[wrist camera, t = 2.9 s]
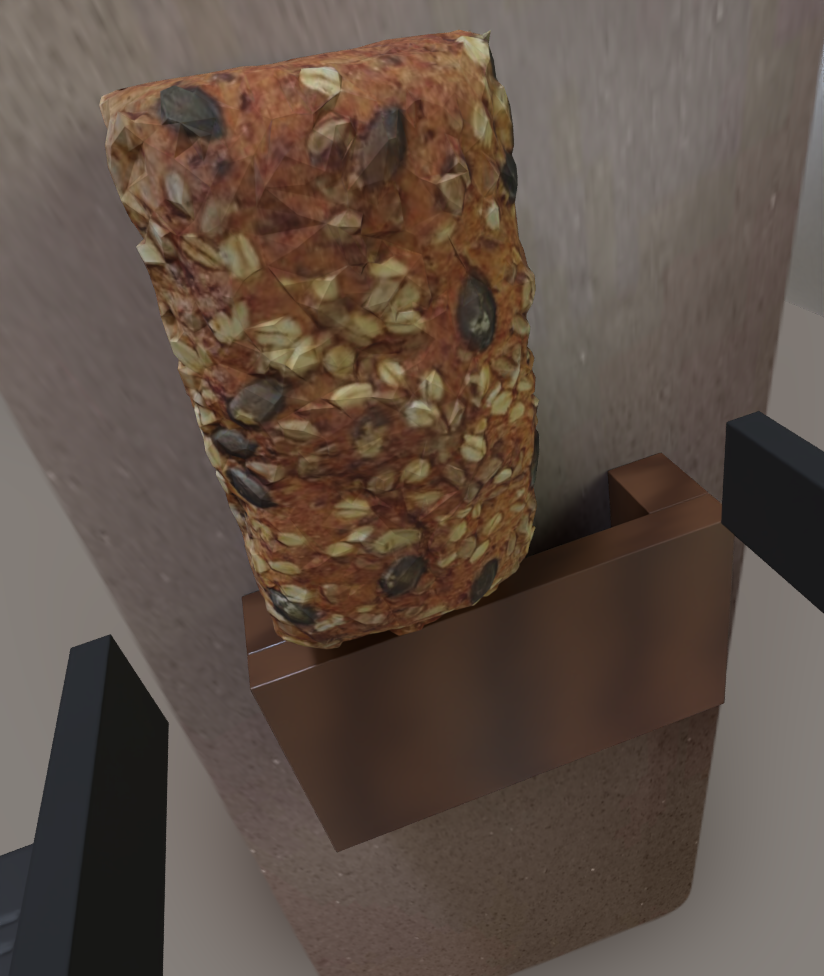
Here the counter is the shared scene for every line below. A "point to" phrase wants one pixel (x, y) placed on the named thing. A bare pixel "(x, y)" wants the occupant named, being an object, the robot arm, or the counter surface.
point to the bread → (347, 319)
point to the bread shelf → (511, 666)
